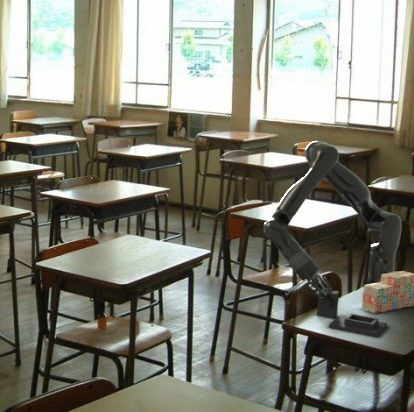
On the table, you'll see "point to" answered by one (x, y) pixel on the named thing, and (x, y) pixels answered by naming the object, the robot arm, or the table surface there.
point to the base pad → (359, 324)
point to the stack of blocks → (389, 292)
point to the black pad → (328, 310)
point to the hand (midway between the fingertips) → (333, 303)
